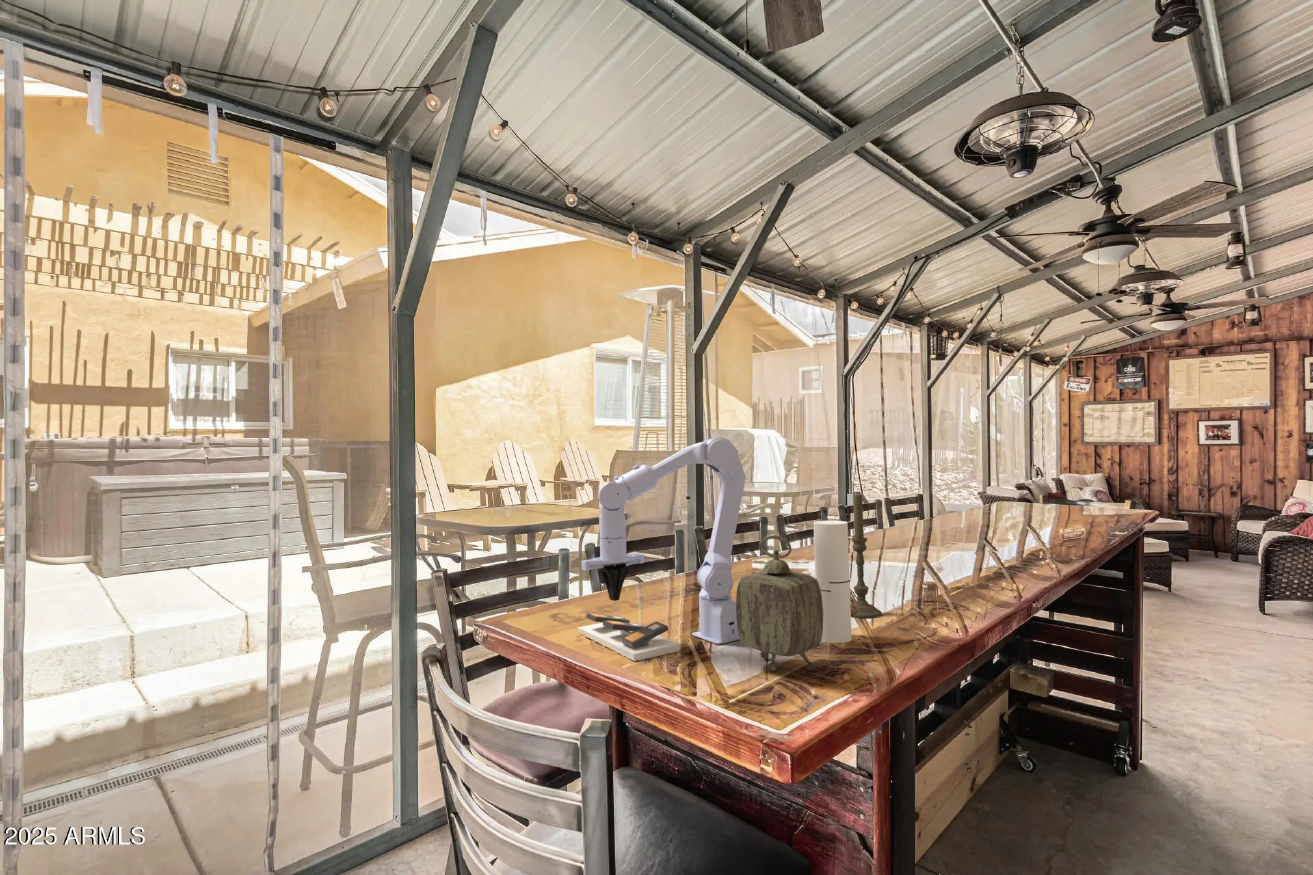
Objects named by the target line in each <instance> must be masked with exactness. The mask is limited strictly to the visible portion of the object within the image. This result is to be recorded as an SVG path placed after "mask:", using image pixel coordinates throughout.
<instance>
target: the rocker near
mask: <svg viewBox="0 0 1313 875" xmlns="http://www.w3.org/2000/svg"><path fill="white" fill-rule="evenodd" d="M667 631H669V627H668V625H667V624H664V623H661V622H659V621H653V622H652V623H651V624H649V625H645V627H644V628H642V629H640V630H638V631H636V632H634V633H632V634H630V635H628V636H626V637H624V638H622V639H621V640H622V644H625V645H627V646H629V647H631V648H635V647H637V646H639V645H641V644H643V643H645V642H647V641H649V640H650V639H652V638H654V637H656V636H658V635H659V636H661V635H662V634H664V633H666V632H667Z"/></svg>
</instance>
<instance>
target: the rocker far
mask: <svg viewBox="0 0 1313 875" xmlns="http://www.w3.org/2000/svg"><path fill="white" fill-rule="evenodd" d="M585 618H586V619H588V620H590V621H592V622H595V623H603V621H617V622H625V623H631V622H630V621H631V620H630V619H627V618H625V617H622V616H616V615H609V614H608V615H607V614H599V613H586V617H585Z"/></svg>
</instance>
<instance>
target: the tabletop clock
mask: <svg viewBox="0 0 1313 875" xmlns="http://www.w3.org/2000/svg"><path fill="white" fill-rule="evenodd" d="M773 539H774V540H780V541H782V542H784V543H785V544H786V545H787V546H788V551H787V552H786V553H783V554H780V553H779V550H777V549H774V550H773V551H772V552H773V553H772V552H771V553H770V552H768V551H767V550H766V549H765V548H764V544H765V543H766V541H768V540H773ZM760 548H761V551H762V552H763V553H764V555H766V556H768V557H769V558H773V559H770V560H767V562H765V564H764V566H763V570H762V571H759V572H756V573H755V572H754V573H752V574H747V575H744V576H742V577H740V579H739V582H738V585H737V587H736V596H735V597H736V598H735V602H736V616H737V629H738V635H739V638H740V639H739V641H740V642H741V643H742V644H744V645H745V646H747V647H749V648H752V649H754V650H757V651H760V657H761V658H762V659H764V660H767V659H768V658H769V656H770V655H771V662H770V663H768V665H767V666H768V667H767V668H768V670H769V672H772V673H773V672H776V671H777V668H778V667H777V666H778V665H777V664H776V663H775V662H776V657H777V656H780V657H785V658H786V657H787V658H788V657H794V656H798V655H799V656H800V657H801V659H803V660H804V661H805V663H806V669H807V670H808V671H810V672H813V671H815V670H816V664H815V663H814V662H813V661H810V660H809V658H808V656H807V655H806V653H805V652H807V651H810V650H812V649H815V648H817V647H820V644H821V642H822V641H821V640H822V634H823V614H824V613H823V603H822V595H821V590H820V586H819V583H818V581H817V579H816V578H815V577H814V576H812V575H810V574H808V573H805V572H800V571H795V570H792V569H790V566H789V564H788V563H787V562H786V561H785V560H784V558H786V557H788V556H790V555H791V552H792V546H791V543H790V541H789V540H788V539H786V538H785V537H784V536H781V535H773V534H772V535H767V536H765V537H764V538H763V539H761V542H760Z"/></svg>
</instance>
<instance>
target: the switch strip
mask: <svg viewBox="0 0 1313 875" xmlns="http://www.w3.org/2000/svg"><path fill="white" fill-rule="evenodd" d="M578 632H581V633H582V634H585V635H586V636H589V637H590V638H591V639H594V640H595V641H597V642H599V643H602V644H603V645H605V646H607V647H609V648H611V649H613V650H615V651H616V652H618V653H620V654H622V655H623V656H622V657H624V656H626V657H627V658H626V657H625V658H626V659H628V658H629V659H628V660H630V659H631V660H630V661H632V660H633V661H632V662H634V661H635V660H639V661H643V660H646V658H647V659H652V658H656V657H659V656H660V657H661V656H664V655H669V654H672V653H677V652H680V643H679V642H676V641H673V640H671V639H668V638H665V637H663V636H661V635H658V636H656V637H654V638H652V639H650V640H649V641H647V642H645V643H643V644H641V645H639V646H637V647H635V648H631V647H629V646H627V645H625V644H622V640H621V639H622V638H624V637H626V636H628V635H630V634H632V633H634V632H636V631H625V630H614V629H610V628H608V627H606V626H604V625H603V622H598V623H594V624H589V625H583V626H578V627H577V633H578ZM635 662H636V661H635Z"/></svg>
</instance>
